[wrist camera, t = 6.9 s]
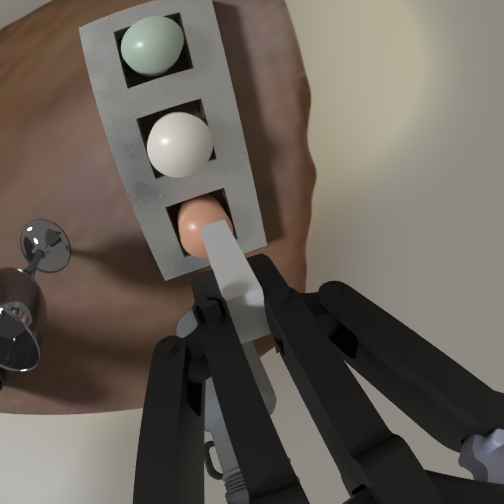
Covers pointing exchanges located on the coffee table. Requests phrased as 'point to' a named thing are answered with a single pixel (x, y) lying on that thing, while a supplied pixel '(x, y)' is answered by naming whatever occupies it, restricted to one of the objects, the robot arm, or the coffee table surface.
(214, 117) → the panel
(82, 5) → the coffee table surface
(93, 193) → the coffee table surface
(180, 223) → the brown egg
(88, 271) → the coffee table surface
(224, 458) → the water bottle
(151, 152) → the white egg
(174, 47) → the pale green rounded egg
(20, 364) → the wine glass
